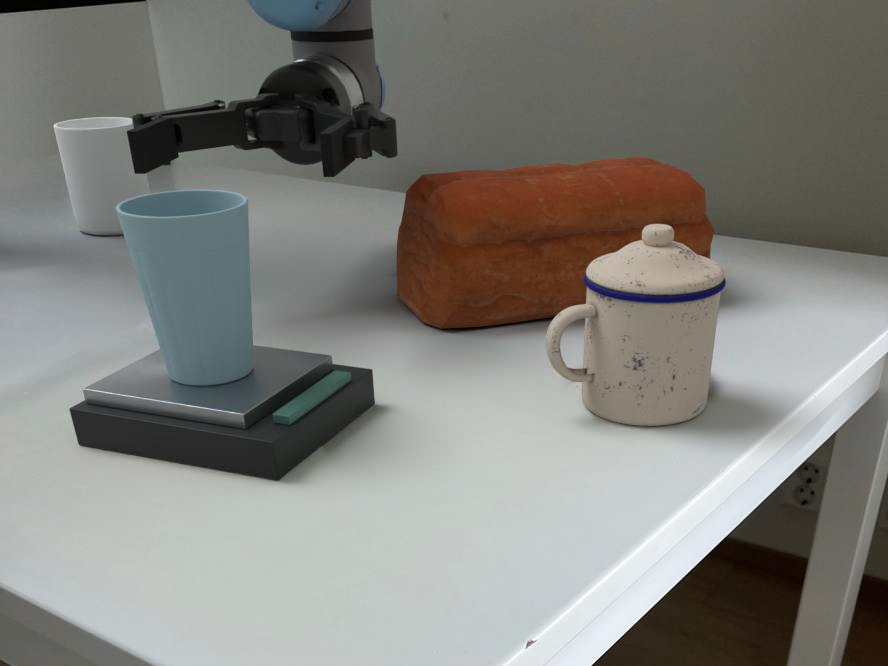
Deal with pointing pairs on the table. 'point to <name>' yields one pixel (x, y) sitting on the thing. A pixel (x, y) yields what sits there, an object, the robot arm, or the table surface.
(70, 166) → the mug
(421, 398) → the table surface
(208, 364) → the cup
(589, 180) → the bread
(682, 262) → the teacup with lid
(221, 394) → the scale
